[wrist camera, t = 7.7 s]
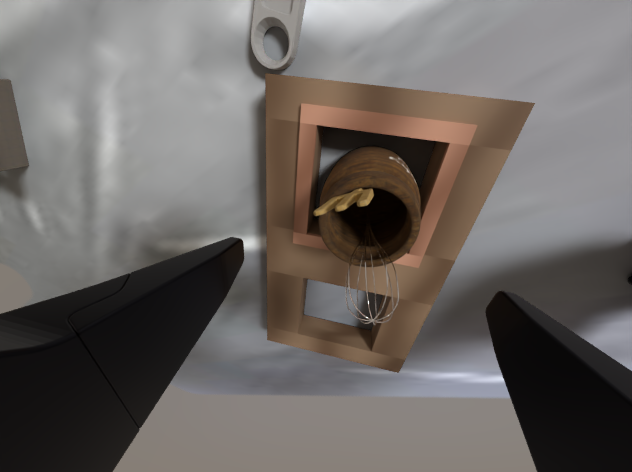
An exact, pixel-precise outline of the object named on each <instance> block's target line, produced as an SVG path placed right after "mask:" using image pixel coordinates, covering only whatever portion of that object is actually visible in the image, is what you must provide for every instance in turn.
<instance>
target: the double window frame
mask: <svg viewBox="0 0 632 472" xmlns="http://www.w3.org/2000/svg"><path fill="white" fill-rule="evenodd" d="M265 80H266V214H267V340H270V341H274V342H278V343H282V344H286V345H290V346H294V347H298V348H302V349H306V350H310V351H314V352H318V353H322V354H326V355H330V356H334V357H337V358H341V359H345V360H349V361H353V362H357V363H361V364H365V365H369V366H373V367H377V368H381V369H385V370H389V371H393V372H397V373H399V371H400V369H401V367H402V365H403V363H404V361H405V359H406V357H407V355H408V353H409V351H410V349H411V347H412V345H413V343H414V341H415V339H416V337H417V335H418V333H419V331H420V329H421V327H422V325H423V323H424V321H425V319H426V318H427V316H428V314H429V312H430V310H431V308H432V306H433V304H434V302H435V300H436V298H437V296H438V294H439V292H440V290H441V288H442V286H443V284H444V282H445V280H446V278H447V276H448V274H449V272H450V270H451V268H452V266H453V264H454V262H455V260H456V258H457V256H458V254H459V252H460V250H461V248H462V246H463V244H464V242H465V240H466V238H467V236H468V235H469V233H470V231H471V229H472V227H473V225H474V223H475V221H476V219H477V217H478V215H479V213H480V211H481V209H482V207H483V205H484V203H485V201H486V199H487V197H488V195H489V193H490V191H491V189H492V187H493V185H494V183H495V181H496V179H497V177H498V175H499V173H500V171H501V169H502V167H503V165H504V163H505V161H506V159H507V157H508V155H509V153H510V152H511V150H512V148H513V146H514V144H515V142H516V140H517V138H518V136H519V134H520V132H521V130H522V128H523V126H524V124H525V122H526V120H527V118H528V116H529V114H530V112H531V110H532V108H533V106H534V104H535V103H529V102H520V101H511V100H502V99H493V98H484V97H475V96H466V95H457V94H448V93H439V92H430V91H421V90H412V89H403V88H394V87H385V86H376V85H367V84H358V83H349V82H340V81H331V80H322V79H313V78H304V77H295V76H286V75H277V74H268V73H265ZM324 126H328V127H335V128H343V129H350V130H358V131H365V132H373V133H380V134H387V135H395V136H402V137H410V138H417V139H425V140H432V141H436V143H435V146H434V149H433V152H432V155H431V158H430V160H429V163H428V166H427V169H426V172H425V175H424V178H423V181H422V184H421V187H420V190H419V193H420V202H421V204H420V212H421V224H420V231H419V235H418V237H417V240H416V242H415V243H414V245H413V246H412V248H411V249H410V250H409V251H408V252H407V253H406V254H405V255H404V256H402V257H401V258H400V259H398V260H396V261H394V262H392V263H393V265H394V267H395V270H396V274H397V280H398V290H399V301H398V304H397V300H398V291H397V281H396V274H395V270H394V267H393V265H392V263H390V264H387V265H386V267H387V272H388V274H389V277H388V274H387V278H388V293H387V298H386V301H385V304H384V307H383V309H382V311H381V312H380V310H381V308H382V306H383V303H384V300H385V297H386V291H387V279H386V269H385V267H384V265H383V266H379V267H373V270H372V267H366V278H367V292H372V293H375V292H376V294H381V295H383V298H382V301H381V304H380V307H379V309H378V312H377V315H378V313H379V312H380V314H379V315H378V317H377V319H380V318H383V317H385V316H387V315H388V314H390V313H391V312H392V295H393V309H394V308H395V306H396V304H397V307H396V308H395V310H394V311H393V314H392V313H391V314H392V317H391V318H390V316H391V314H390V315H389V316H388V317H386V318H384V319H381V320H377V321H378V322H384V321H386V320H388V319H389V318H390V320H389V321H387V322H385V323H377V322H376V325H374V324H375V322H374V324H373V327H372V330H367V329H362V328H358V327H354V326H349V325H345V324H341V323H337V322H332V321H328V320H324V319H319V318H315V317H311V316H307V315H304V306H305V297H306V287H307V279H311V280H316V281H320V282H325V283H330V284H334V285H339V286H344V287H346V277H347V272H348V269H349V263H347V262H344V261H342V260H341V259H339V258H338V257H336V256H335V255H334V254H333V253H332V252H331V251H330V250H329V249H328V248H327V246H326V245H325V243H324V242H323V240H322V237H321V234H320V230H319V219H314V213H313V212H314V211H315V205H316V195H317V186H318V177H319V168H320V158H321V149H322V140H323V131H324ZM359 269H360V273H359ZM373 271H374V279H373ZM358 274H359V280H358ZM389 278H390V281H391V287H392V295H391V287H390V281H389ZM374 280H375V291H374ZM357 281H358V290H362V291H366V281H365V267H361V268H360V266H355V265H352V264H351V266H350V271H349V287H350V288H353V289H357ZM347 287H348V277H347ZM349 287H348V288H349Z"/></svg>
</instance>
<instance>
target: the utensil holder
mask: <svg viewBox="0 0 632 472" xmlns="http://www.w3.org/2000/svg"><path fill="white" fill-rule="evenodd" d="M420 204H421V202H420V193H419V189H418V186H417V183H416V181H415V179H414V177H413V175H412V173H411V171H410V169H409V168H408V166H407V165H406V163H405V162H404V161H403V160H402V159H401V158H400V157H399V156H398V155H397V154H396V153H394V152H392V151H390V150H388V149H386V148H383V147H378V146H366V147H361V148H358V149H355V150H353V151H351V152H349V153H347V154H346V155H345V156H343V157H342V158H341V159H340V160H339V161H338V162H337V164H336V165H335V166H334V168H333V169H332V171H331V173H330V174H329V176H328V178H327V180H326V182H325V184H324V187H323V189H322V193H321V197H320V207H319V208H318V209H316V210H315V211H314V212H313V213H314V216H319V230H320V234H321V237H322V240H323V242H324V243H325V245H326V246H327V248H328V249H329V250H330V251H331V252H332V253H333V254H334V255H335V256H336V257H338V258H339V259H341V260H342V261H344V262H347V263H349V269H348V272H347V277H348V287H349V271H350V266H351V264H352V265H355V266H360V268H361V267H365V281H366V293H367V301H368V307H369V312H370V316H371V319H370V318H368V317H366V316H365V315H364V314H362V313H361V312H360V311H359V310H358V281H357V307H356V305H355V304H354V302H353V300H352V297H351V294H350V287H349V294H350V298H351V300H352V302H353V304H354V306H355V307H356V309H357V314H358V311H359V312H360V313H361V314H362V315H363V316H364V317H366V318H367V319H369V320H365V319H361V318H360V317H359V314H358V317H357V316H355V315H354V314H353V313H352V312H351V311H350V309H349V307H348V304H347V277H346V305H347V307H348V309H349V311H350V312H351V314H352V315H353V316H355V317H356V318H358V319H359V320H360V321H361V320H364V321H370V322H373V321H374V322H375V324H374V322H373V324H374V325H376V322H377V323H385V322H387V321H389V320H390V318H391V317H392V314H393V311H394V310H395V308H396V307H397V304H398V301H399V290H398V280H397V274H396V270H395V267H394V265H393V263H392V262H394V261H396V260H398V259H400V258H401V257H402V256H404V255H405V254H406V253H407V252H408V251H409V250H410V249H411V248H412V246H413V245H414V243H415V242H416V240H417V237H418V235H419V231H420V224H421V212H420ZM390 263H392V265H393V267H394V270H395V274H396V281H397V291H398V300H397V304H396V306H395V308H394V309H393V295H392V287H391V281H390V278H389V281H390V287H391V295H392V312H391V313H392V314H391V313H390V314H391V316H390V318H389V319H388V320H386V321H384V322H378V321H377V320H381V319H384V318H386V317H388V316H389V315H390V314H388V315H387V316H385V317H383V318H380V319H377V317H378V315H379V314H380V312H381V311H382V309H383V307H384V304H385V301H386V298H387V293H388V278H387V274H388V272H387V267H386V265H387V264H390ZM383 265H384V267H385V269H386V279H387V291H386V297H385V300H384V303H383V306H382V308H381V310H380V312H379V313H378V315H377V309H376V292H375V309H376V317H375V318H374V319H375V320H374V319H372V315H371V311H370V306H369V300H368V292H367V278H366V267H372V270H373V267H379V266H383ZM359 273H360V269H359ZM388 277H389V274H388ZM373 279H374V271H373ZM358 280H359V274H358ZM374 291H375V280H374ZM361 322H362V321H361ZM370 322H367V323H364V322H362V323H364V324H368V323H370Z"/></svg>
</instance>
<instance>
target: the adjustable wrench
mask: <svg viewBox="0 0 632 472" xmlns="http://www.w3.org/2000/svg"><path fill="white" fill-rule="evenodd" d="M305 3H306V0H255V2H254V11H253V20H252V29H251V45H252V49H253V53H254V54H255V56H256V58H257V60H258V61H259V62H260V63H261V64H262V65H264V66H265V67H267V68H270V69H274V70H282V69H286V68H287V67H288V66H290V65H291V63H292V62H293V60H294V59H295V56H296V53H297V48H298V43H299V37H300V31H301V25H302V20H303V14H304V8H305ZM273 26H277V27H280V28H282V29H283V30H284V32H285V33H286V35H287V37H288V42H289V48H288V51H287V54H286V55H285V57H284V58H283V59H281V60H278V61H275V60H272V59H270V58H269V57H268V56H267V55H266V53H265V51H264V47H263V38H264V34H265V33H266V31H267V30H268V29H269V28H270V27H273Z"/></svg>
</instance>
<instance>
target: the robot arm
mask: <svg viewBox="0 0 632 472" xmlns="http://www.w3.org/2000/svg"><path fill="white" fill-rule="evenodd" d="M243 261H244V247H243V240H242V239H239V238H234V237H230V238H227V239H224V240H221V241H219V242H216V243H213V244H210V245H207V246H205V247H202V248H199V249H196V250H193V251H190V252H188V253H185V254H182V255H179V256H176V257H174V258H171V259H168V260H165V261H162V262H160V263H157V264H154V265H151V266H148V267H145V268H143V269H140V270H137V271H134V272H132V273H131V274H126V275H123V276H120V277H117V278H114V279H111V280H108V281H106V282H103V283H100V284H97V285H94V286H91V287H87V288H84V289H81V290H78V291H75V292H71V293H68V294H65V295H62V296H58V297H55V298H52V299H48V300H45V301H42V302H38V303H35V304H32V305H28V306H25V307H22V308H18V309H15V310H12V311H9V312H5V313H2V314H0V472H113V470H114V469H115V467H116V466H117V464H118V463H119V461H120V459H121V458H122V456H123V455H124V453H125V451H126V450H127V449H128V447H129V446H130V444H131V443H132V441H133V439H134V438H135V436H136V435H137V433H138V432H139V428H141V427H142V425H143V424H144V422H145V420H146V419H147V418H148V416H149V414H150V413H151V411H152V410H153V408H154V407H155V405H156V404H157V402H158V401H159V399H160V397H161V396H162V394H163V393H164V391H165V390H166V388H167V387H168V385H169V384H170V382H171V381H172V379H173V377H174V376H175V374H176V373H177V371H178V370H179V368H180V367H181V365H182V364H183V362H184V361H185V359H186V357H187V356H188V354H189V353H190V351H191V350H192V348H193V347H194V345H195V344H196V342H197V341H198V339H199V337H200V336H201V334H202V333H203V331H204V330H205V328H206V327H207V325H208V324H209V322H210V321H211V319H212V317H213V316H214V314H215V313H216V311H217V310H218V308H219V307H220V305H221V304H222V302H223V300H224V299H225V297H226V296H227V294H228V292H229V290H230V288H231V286H232V284H233V282H234V280H235V278H236V276H237V274H238V272H239V270H240V268H241V266H242V264H243ZM628 282H629V283H630V284H631V285H632V276H631V277H630V278H629V279H628ZM486 318H487V322H488V326H489V330H490V334H491V338H492V342H493V346H494V351H495V354H496V358H497V361H498V364H499V367H500V370H501V372H502V375H503V378H504V381H505V384H506V386H507V389H508V392H509V395H510V397H511V400H512V403H513V405H514V409H515V411H516V414H517V417H518V420H519V422H520V425H521V428H522V431H523V434H524V436H525V439H526V442H527V445H528V447H529V450H530V453H531V456H532V458H533V461H534V464H535V467H536V470H537V472H632V371H631V370H629V369H628V368H626V367H625V366H623V365H622V364H620V363H619V362H617V361H616V360H614V359H613V358H611V357H610V356H608V355H607V354H605V353H604V352H602V351H601V350H599V349H598V348H596V347H595V346H593V345H592V344H590V343H589V342H587V341H586V340H584V339H583V338H581V337H580V336H578V335H577V334H575V333H574V332H572V331H571V330H569V329H568V328H566V327H565V326H563V325H562V324H560V323H559V322H557V321H556V320H554V319H552V318H551V317H549V316H548V315H546V314H545V313H543V312H542V311H540V310H539V309H537V308H536V307H534V306H533V305H531V304H530V303H528V302H527V301H525V300H524V299H522V298H521V297H519V296H518V295H516V294H514V293H511V292H506V291H499V292H497V293H496V294H495V296H494V297H493V299H492V300H491V302H490V303H489V305H488V306H487V308H486Z"/></svg>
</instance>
